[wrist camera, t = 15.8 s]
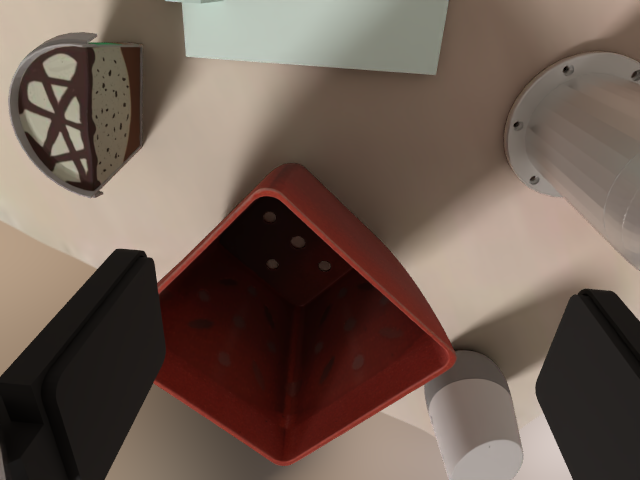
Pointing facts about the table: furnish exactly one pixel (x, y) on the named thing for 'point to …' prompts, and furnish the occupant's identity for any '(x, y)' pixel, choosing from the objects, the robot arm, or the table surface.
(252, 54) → the lid
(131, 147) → the food container
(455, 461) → the smart speaker
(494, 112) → the table surface
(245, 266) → the plant pot
